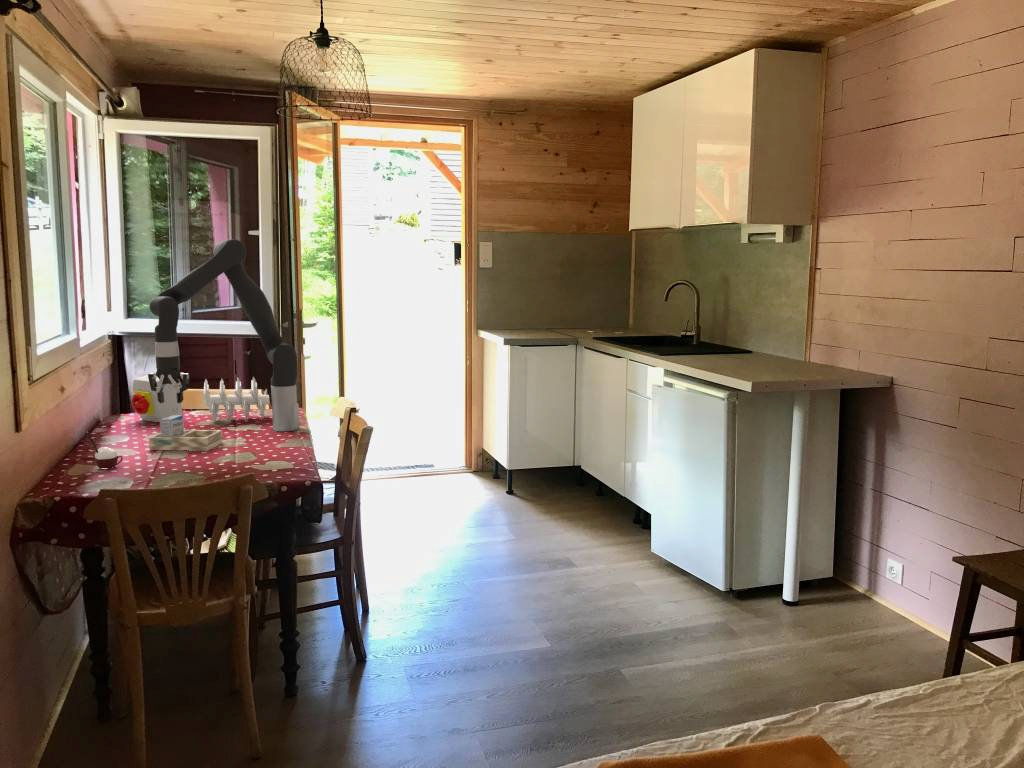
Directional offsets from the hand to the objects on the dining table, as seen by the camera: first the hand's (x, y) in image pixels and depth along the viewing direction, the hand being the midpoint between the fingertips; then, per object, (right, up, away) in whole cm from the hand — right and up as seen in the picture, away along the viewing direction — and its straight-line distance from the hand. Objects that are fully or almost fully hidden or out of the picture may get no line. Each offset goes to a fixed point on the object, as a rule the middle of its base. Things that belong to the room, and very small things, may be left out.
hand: (170, 402), depth 278 cm
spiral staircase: (+7, -9, +48) cm, 49 cm away
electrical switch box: (-26, -9, +46) cm, 54 cm away
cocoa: (-9, -20, -27) cm, 35 cm away
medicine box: (0, -14, +2) cm, 14 cm away
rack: (+5, -15, +2) cm, 16 cm away
